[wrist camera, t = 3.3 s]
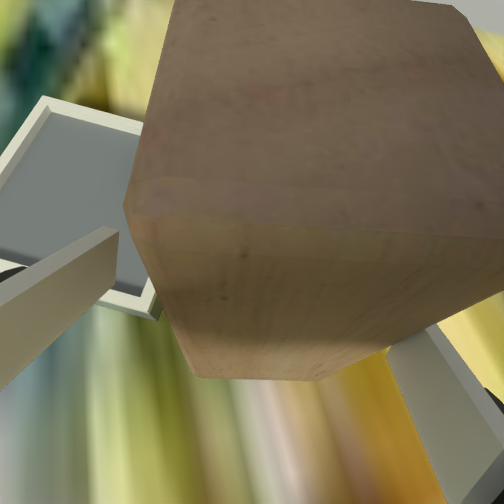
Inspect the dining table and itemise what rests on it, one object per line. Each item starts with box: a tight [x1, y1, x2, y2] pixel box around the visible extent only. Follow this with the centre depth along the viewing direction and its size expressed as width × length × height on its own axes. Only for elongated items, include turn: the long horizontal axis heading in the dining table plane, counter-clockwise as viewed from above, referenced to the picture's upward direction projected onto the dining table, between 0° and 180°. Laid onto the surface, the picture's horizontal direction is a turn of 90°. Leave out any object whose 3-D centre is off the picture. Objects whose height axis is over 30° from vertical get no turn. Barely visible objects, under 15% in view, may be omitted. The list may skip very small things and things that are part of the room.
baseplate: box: [0, 96, 163, 321], centre depth 27 cm, size 15×15×4 cm
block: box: [123, 0, 504, 381], centre depth 17 cm, size 10×10×20 cm
